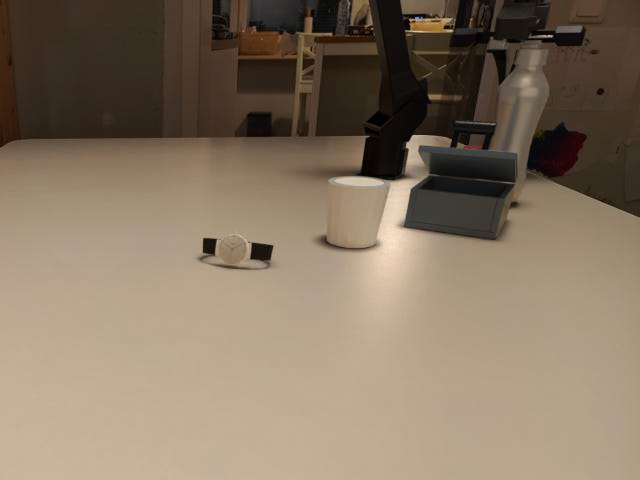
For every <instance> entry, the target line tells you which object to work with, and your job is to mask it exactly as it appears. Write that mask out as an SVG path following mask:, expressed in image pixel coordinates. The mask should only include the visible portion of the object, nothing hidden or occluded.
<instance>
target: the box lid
mask: <svg viewBox="0 0 640 480" xmlns="http://www.w3.org/2000/svg"><path fill="white" fill-rule="evenodd" d="M496 129H497V122H493V121H484V120H483V121H482V120H467V119H455V120H454V124H453V128H452V137H451V141H450V144H449V146H439V145H438V146H437V145H425V144H424V145H423V144H419V146H418V149H417V153H418V154H419V157H420V159H421V161H422V162H423V165H424V167H425V169H426V171H427V173H428V175H434V176H439V175H441V176H451V177H461V178H471V179H481V180H490V181H500V182H510V183H516V181H517V178H518V167H517V153H515V152H502V151H490V150H489V147H490V144H491V140H492V137H493V136H494V135H495V132H496ZM461 135H477V136H484V139H483V143H482V145H481V146H482V150H477V149H464V147H458V145H459V141H460V139H461Z"/></svg>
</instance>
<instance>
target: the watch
mask: <svg viewBox="0 0 640 480" xmlns="http://www.w3.org/2000/svg"><path fill="white" fill-rule="evenodd" d="M237 233H238V232H237V231H236V230H234V231H233V233H230V234H227V235H225V236H224V237H222V238H212V237H202V254H207V255H212V256H215V257H218V258H219V259H220V260H221V261H222V262H223V263H224V264H226V265H229V266H237V265H238V266H239V265H241V264H242V263H243V262H245V261H246V260H247V261H250V260H254V261H255V260H256V261H265V262H266V261H269V262H270V261H272V255H273V251H274V244H269V243H260V242H251V241H247V239H246V238H245V237H244V236H242V235H241V234H237Z"/></svg>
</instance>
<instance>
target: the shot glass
mask: <svg viewBox="0 0 640 480" xmlns="http://www.w3.org/2000/svg"><path fill="white" fill-rule="evenodd" d="M327 182H328V183H327V184H328V185H327V186H328V188H327V214H326V215H327V217H326V242H327V243H329V244H330V245H333V246H336V247H341V248H348V249H351V248H352V249H366V248H370V247H373V246H374V245H376V242H377V238H378V235H379V231H380V226H381V224H382V223H381V222H382V219H383V215H384V211H385V208H386V203H387V200H388V196H389V192H390V189H391V182H390V181H389V180H386V179H380V178H372V177H363V176H357V175H346V176H344V175H343V176H336V177H331V178H329V179H328V181H327Z"/></svg>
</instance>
